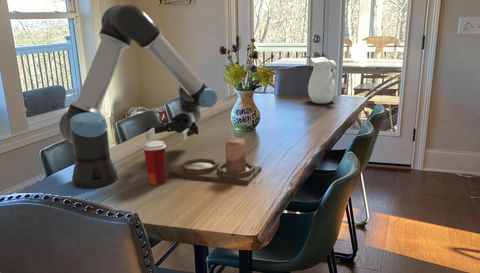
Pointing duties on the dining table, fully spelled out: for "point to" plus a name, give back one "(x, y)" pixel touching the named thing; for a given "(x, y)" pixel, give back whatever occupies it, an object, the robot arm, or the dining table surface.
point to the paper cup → (155, 161)
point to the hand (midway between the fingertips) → (165, 136)
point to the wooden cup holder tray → (221, 166)
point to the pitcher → (322, 80)
